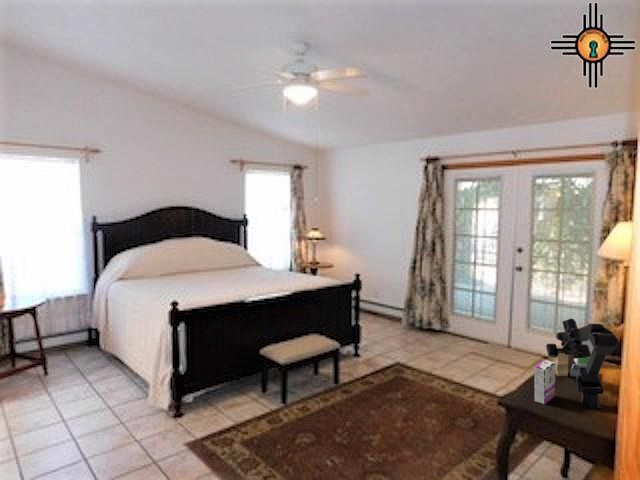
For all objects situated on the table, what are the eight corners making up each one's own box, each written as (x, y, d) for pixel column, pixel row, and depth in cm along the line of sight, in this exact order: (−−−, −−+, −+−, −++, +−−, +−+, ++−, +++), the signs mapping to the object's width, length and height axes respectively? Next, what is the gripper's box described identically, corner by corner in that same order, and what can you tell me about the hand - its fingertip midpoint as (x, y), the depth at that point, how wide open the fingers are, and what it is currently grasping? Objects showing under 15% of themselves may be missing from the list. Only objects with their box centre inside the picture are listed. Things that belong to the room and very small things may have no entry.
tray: (594, 380, 211) (594, 375, 210) (570, 376, 217) (570, 370, 217) (596, 373, 219) (596, 367, 219) (572, 369, 225) (572, 363, 225)
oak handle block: (567, 376, 217) (568, 351, 216) (557, 375, 218) (557, 351, 217) (564, 372, 222) (564, 348, 221) (553, 372, 223) (554, 347, 221)
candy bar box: (544, 393, 200) (544, 359, 198) (555, 396, 196) (556, 362, 194) (533, 401, 193) (533, 366, 191) (544, 405, 189) (545, 369, 187)
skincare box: (576, 364, 231) (577, 336, 229) (573, 360, 237) (573, 333, 235) (594, 366, 228) (595, 337, 227) (590, 361, 234) (591, 333, 233)
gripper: (588, 328, 208) (578, 343, 220) (547, 328, 211) (539, 342, 223) (595, 350, 201) (584, 363, 213) (553, 349, 204) (544, 362, 216)
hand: (563, 357), depth 216 cm, fingers open, 9 cm apart
